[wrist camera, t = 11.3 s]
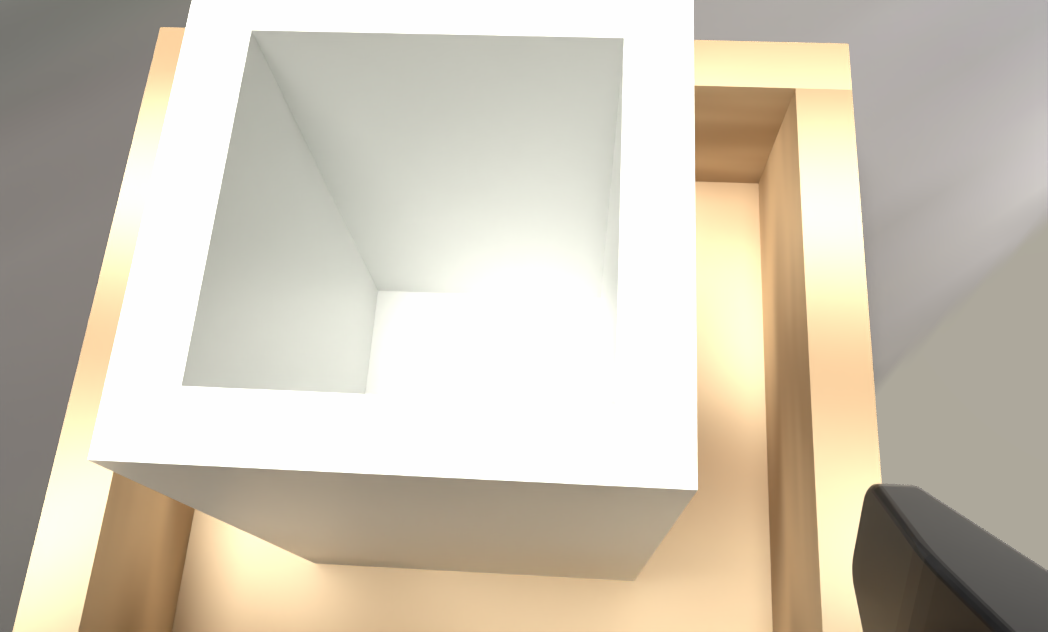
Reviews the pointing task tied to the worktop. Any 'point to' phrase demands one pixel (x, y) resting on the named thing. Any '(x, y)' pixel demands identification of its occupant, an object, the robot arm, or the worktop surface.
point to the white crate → (420, 283)
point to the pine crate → (722, 418)
